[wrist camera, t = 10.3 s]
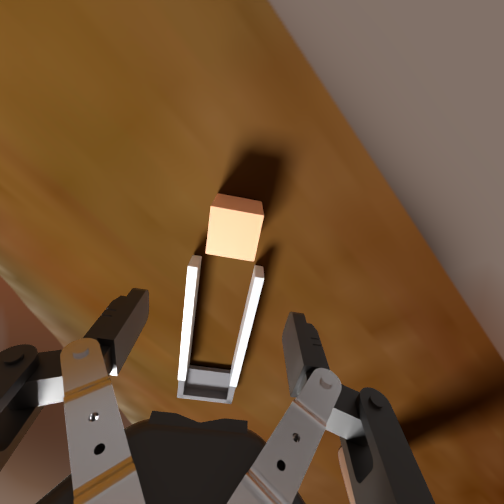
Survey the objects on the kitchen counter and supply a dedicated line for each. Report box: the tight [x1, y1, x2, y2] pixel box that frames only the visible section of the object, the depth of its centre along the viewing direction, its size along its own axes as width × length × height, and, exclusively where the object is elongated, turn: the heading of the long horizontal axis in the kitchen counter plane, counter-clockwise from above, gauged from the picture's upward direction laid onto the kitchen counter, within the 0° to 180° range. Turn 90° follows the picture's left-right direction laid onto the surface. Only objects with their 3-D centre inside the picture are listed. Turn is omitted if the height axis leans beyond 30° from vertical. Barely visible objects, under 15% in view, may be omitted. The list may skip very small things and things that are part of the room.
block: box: [205, 193, 264, 261], centre depth 23 cm, size 4×4×4 cm
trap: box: [177, 365, 235, 404], centre depth 36 cm, size 5×8×2 cm, turn 79°
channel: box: [178, 255, 264, 387], centre depth 30 cm, size 18×8×2 cm, turn 169°
